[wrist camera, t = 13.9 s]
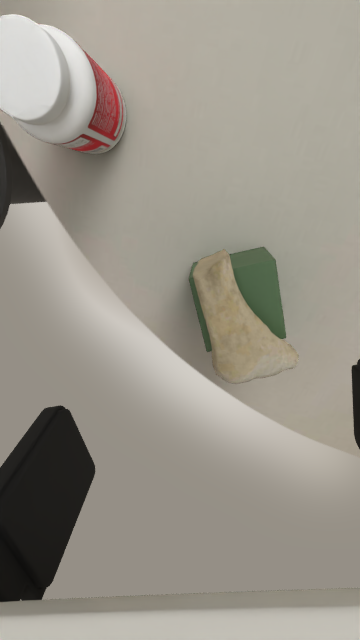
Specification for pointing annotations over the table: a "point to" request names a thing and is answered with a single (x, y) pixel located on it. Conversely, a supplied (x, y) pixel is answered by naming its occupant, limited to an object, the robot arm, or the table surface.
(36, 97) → the pill bottle
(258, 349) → the bone
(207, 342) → the green block
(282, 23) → the table surface
